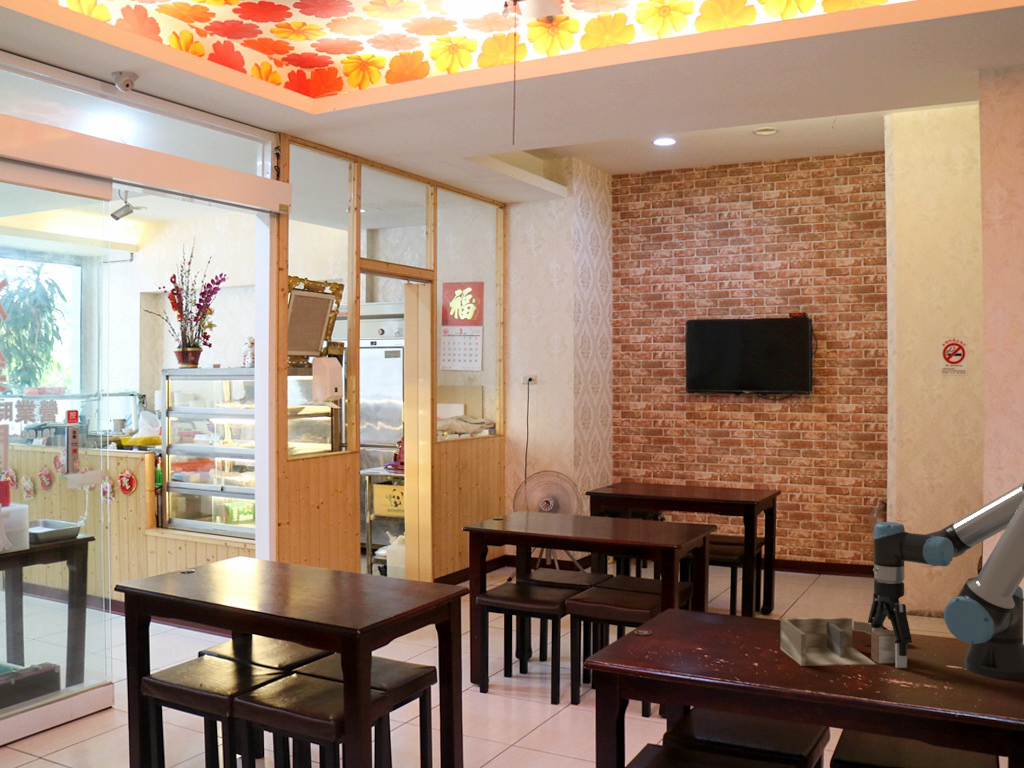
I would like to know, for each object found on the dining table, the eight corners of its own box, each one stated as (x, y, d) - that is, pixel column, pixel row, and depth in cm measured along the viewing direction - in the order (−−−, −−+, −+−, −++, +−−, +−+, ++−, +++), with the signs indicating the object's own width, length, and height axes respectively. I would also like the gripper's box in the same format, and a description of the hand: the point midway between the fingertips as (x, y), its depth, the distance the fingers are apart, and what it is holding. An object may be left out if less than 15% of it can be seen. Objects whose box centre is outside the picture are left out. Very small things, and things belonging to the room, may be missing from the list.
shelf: (850, 649, 254) (850, 617, 254) (875, 667, 238) (875, 633, 238) (780, 650, 253) (780, 618, 253) (801, 668, 237) (801, 634, 237)
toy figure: (850, 621, 266) (904, 632, 262) (848, 642, 263) (902, 654, 260) (854, 616, 259) (910, 627, 256) (853, 637, 257) (909, 649, 253)
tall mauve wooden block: (900, 660, 244) (900, 630, 244) (907, 664, 240) (907, 634, 240) (871, 660, 244) (871, 630, 244) (878, 665, 240) (878, 635, 240)
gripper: (855, 570, 255) (855, 645, 255) (897, 591, 230) (897, 674, 230) (881, 570, 255) (881, 645, 255) (926, 591, 230) (926, 674, 230)
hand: (889, 659), depth 242 cm, fingers open, 13 cm apart
